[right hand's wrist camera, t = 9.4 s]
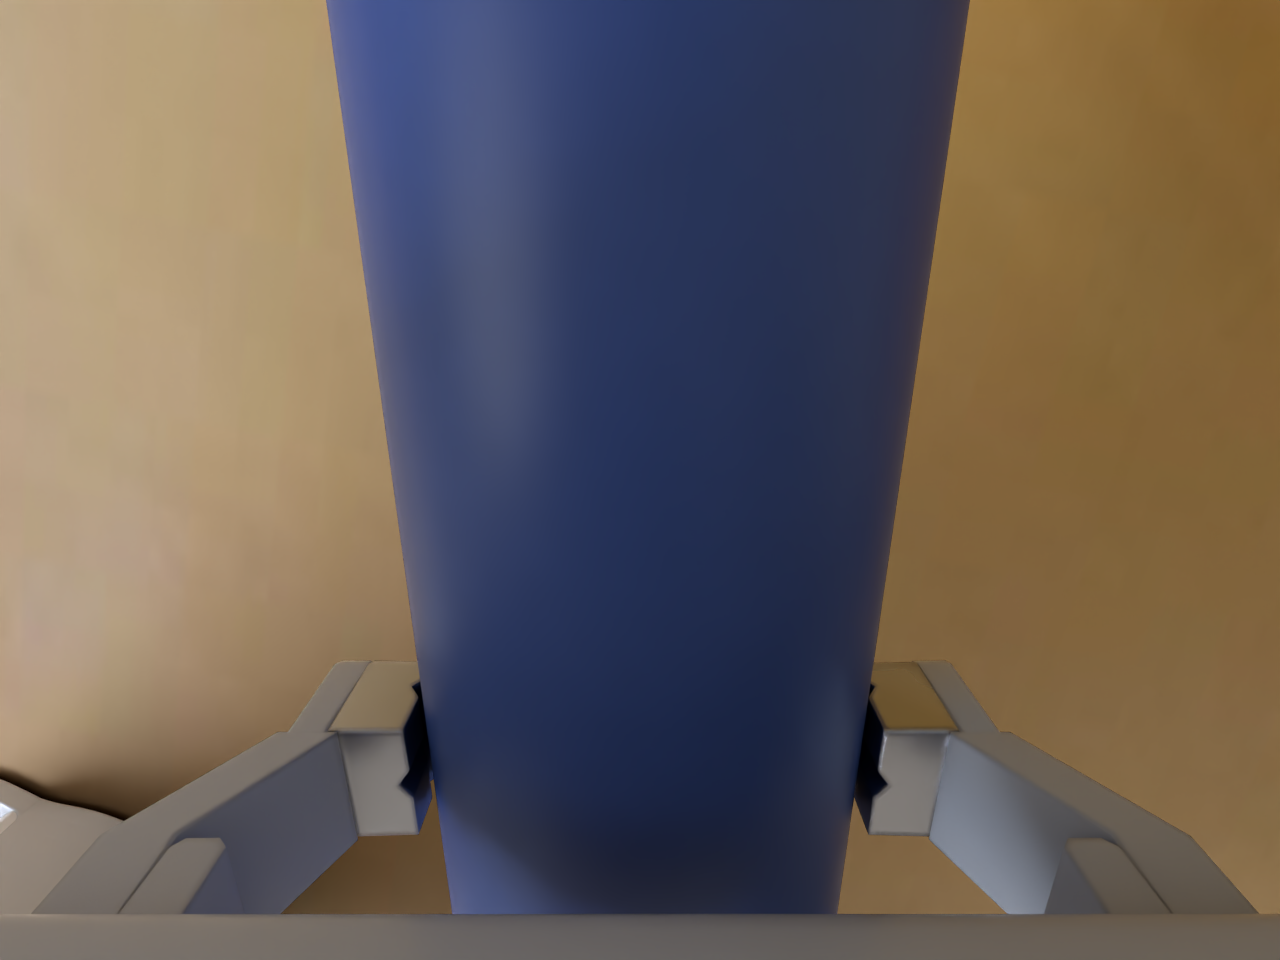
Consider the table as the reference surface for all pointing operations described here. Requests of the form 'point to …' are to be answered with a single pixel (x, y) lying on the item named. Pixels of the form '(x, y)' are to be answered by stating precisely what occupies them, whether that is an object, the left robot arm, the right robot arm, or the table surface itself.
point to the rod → (646, 418)
